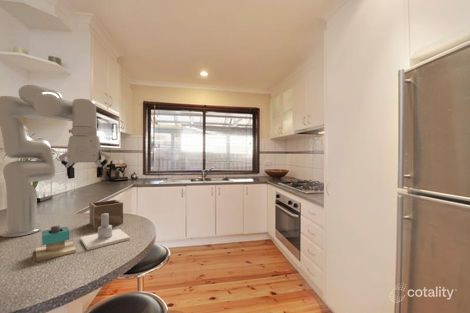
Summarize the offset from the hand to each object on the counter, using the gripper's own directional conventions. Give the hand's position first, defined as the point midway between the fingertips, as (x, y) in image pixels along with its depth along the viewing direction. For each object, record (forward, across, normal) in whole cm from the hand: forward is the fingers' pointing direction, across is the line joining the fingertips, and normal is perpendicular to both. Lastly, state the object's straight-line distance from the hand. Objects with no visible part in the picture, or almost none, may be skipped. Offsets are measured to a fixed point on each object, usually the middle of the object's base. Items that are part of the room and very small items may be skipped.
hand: (85, 177), depth 82 cm
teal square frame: (+21, -7, -5) cm, 23 cm away
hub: (+25, +5, +3) cm, 25 cm away
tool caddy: (+25, -3, +27) cm, 37 cm away
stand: (+25, -7, -5) cm, 26 cm away
